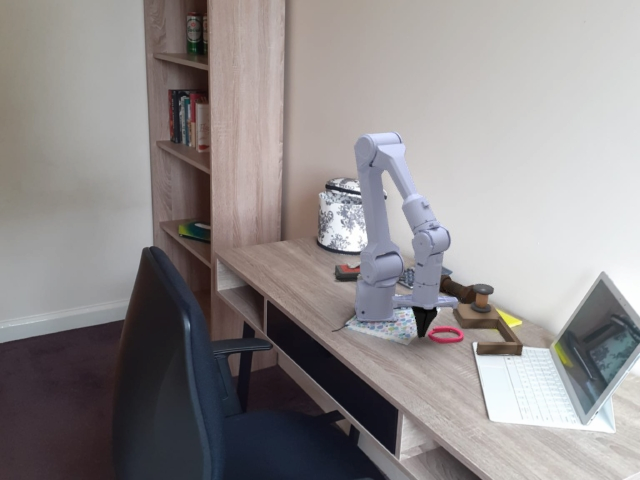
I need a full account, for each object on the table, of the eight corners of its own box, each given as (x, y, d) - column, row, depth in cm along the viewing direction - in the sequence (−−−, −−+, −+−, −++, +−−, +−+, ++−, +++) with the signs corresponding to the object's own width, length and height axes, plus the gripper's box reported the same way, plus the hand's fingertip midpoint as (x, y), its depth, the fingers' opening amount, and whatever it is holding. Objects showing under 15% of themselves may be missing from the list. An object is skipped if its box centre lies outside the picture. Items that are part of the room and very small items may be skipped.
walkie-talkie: (337, 286, 162) (406, 283, 166) (338, 271, 160) (408, 268, 164) (330, 273, 170) (396, 271, 174) (330, 259, 168) (397, 257, 172)
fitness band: (456, 331, 140) (457, 325, 140) (467, 343, 135) (468, 337, 134) (424, 333, 138) (424, 327, 138) (433, 345, 133) (434, 339, 133)
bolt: (433, 290, 166) (473, 309, 154) (422, 284, 163) (462, 304, 151) (442, 271, 166) (483, 289, 154) (431, 265, 163) (472, 283, 151)
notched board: (477, 354, 129) (479, 344, 128) (452, 312, 148) (453, 303, 147) (521, 355, 130) (523, 345, 129) (490, 313, 149) (492, 304, 148)
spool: (473, 312, 143) (477, 291, 141) (468, 304, 148) (471, 283, 146) (493, 313, 143) (496, 292, 142) (486, 304, 148) (490, 283, 146)
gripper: (397, 287, 126) (392, 344, 130) (464, 288, 127) (457, 344, 131) (391, 274, 132) (386, 328, 137) (455, 275, 133) (448, 329, 138)
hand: (420, 335), depth 134 cm, fingers closed
